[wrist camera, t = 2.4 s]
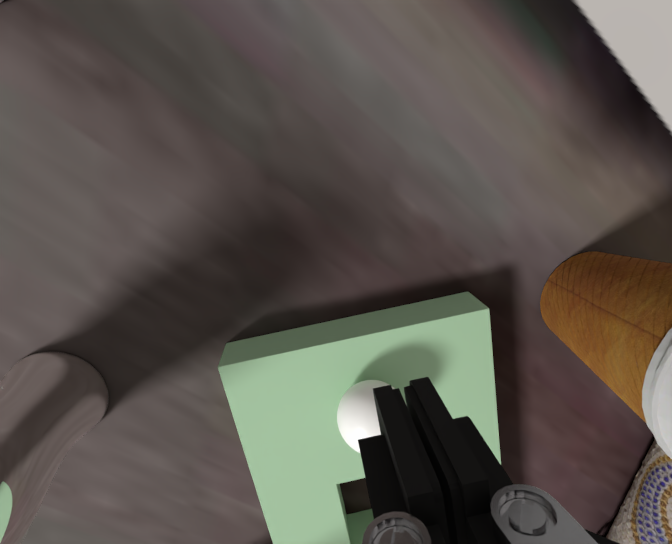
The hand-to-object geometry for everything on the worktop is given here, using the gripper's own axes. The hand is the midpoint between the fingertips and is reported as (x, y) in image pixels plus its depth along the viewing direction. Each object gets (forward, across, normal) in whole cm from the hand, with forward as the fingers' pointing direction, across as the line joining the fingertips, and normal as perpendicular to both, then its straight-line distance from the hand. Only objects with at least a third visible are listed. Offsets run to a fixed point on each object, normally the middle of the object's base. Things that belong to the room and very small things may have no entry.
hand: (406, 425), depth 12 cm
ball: (+9, 0, +6) cm, 11 cm away
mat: (+14, +1, +12) cm, 19 cm away
